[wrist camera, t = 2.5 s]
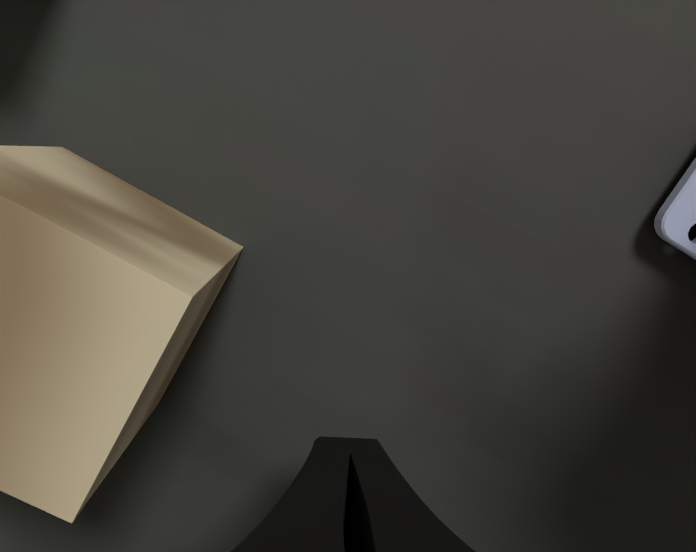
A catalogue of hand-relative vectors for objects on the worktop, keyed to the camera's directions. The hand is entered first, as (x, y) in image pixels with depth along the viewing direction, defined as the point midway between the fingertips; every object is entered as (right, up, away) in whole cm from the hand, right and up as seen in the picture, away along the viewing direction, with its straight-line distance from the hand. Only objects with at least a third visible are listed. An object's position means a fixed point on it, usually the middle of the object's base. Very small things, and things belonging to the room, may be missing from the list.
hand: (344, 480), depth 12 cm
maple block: (-6, +4, +3) cm, 8 cm away
